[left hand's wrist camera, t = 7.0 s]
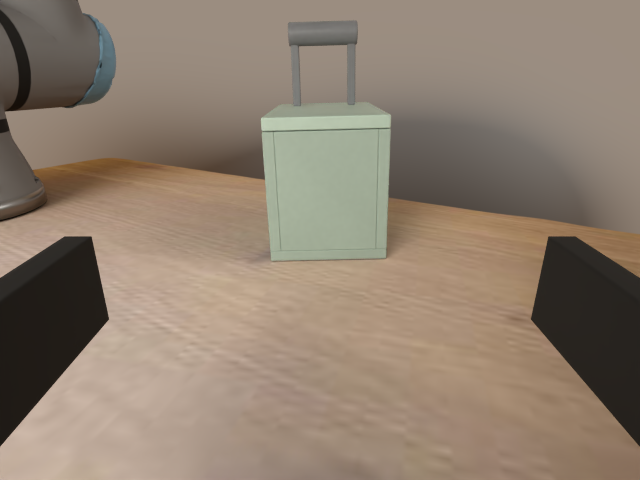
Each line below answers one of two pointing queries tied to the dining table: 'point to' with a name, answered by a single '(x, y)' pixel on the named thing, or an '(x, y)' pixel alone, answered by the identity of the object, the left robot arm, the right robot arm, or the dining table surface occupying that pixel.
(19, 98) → the right robot arm
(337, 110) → the lid
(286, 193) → the chest
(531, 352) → the dining table surface
